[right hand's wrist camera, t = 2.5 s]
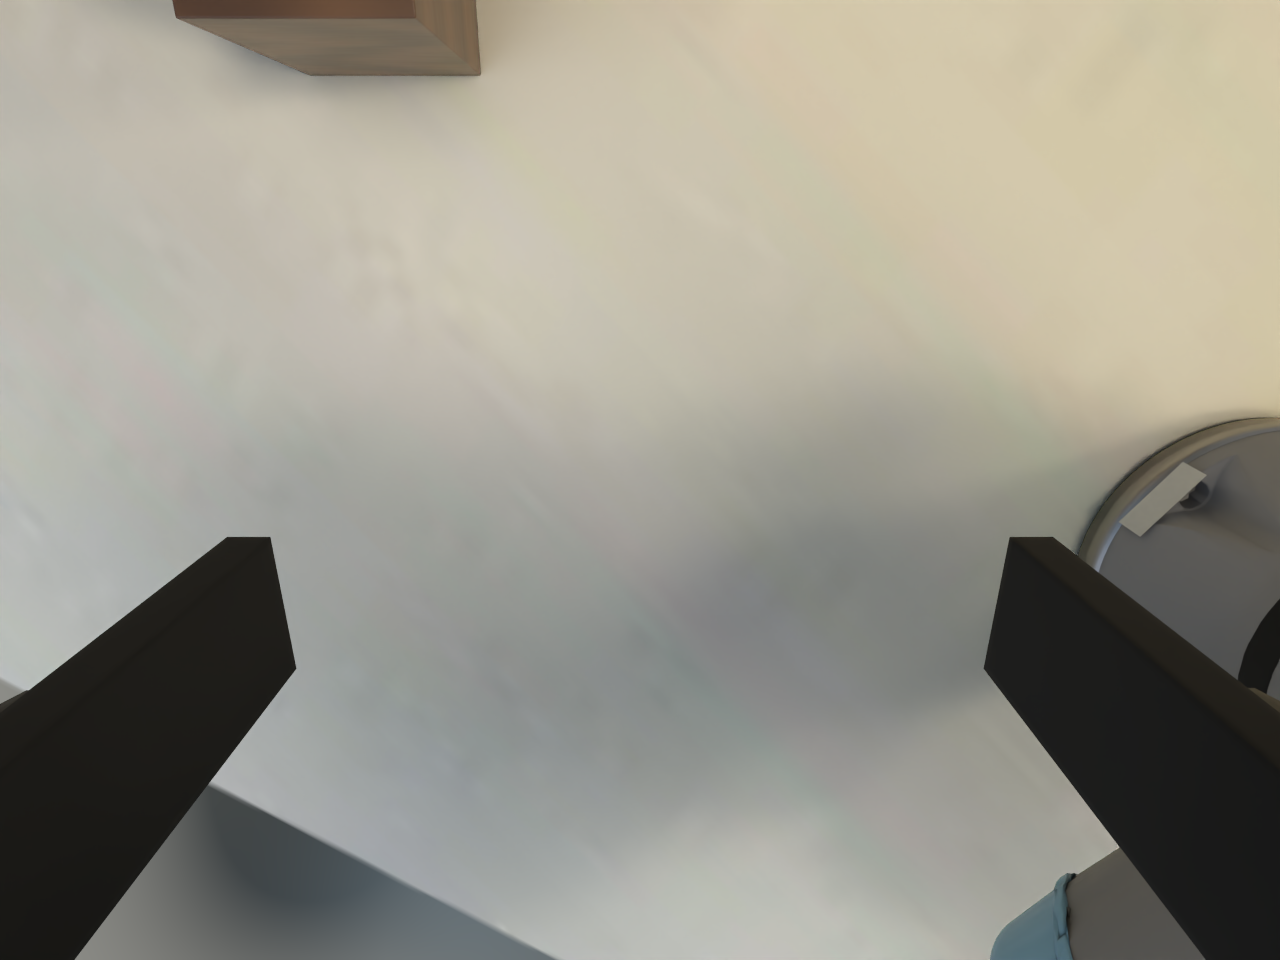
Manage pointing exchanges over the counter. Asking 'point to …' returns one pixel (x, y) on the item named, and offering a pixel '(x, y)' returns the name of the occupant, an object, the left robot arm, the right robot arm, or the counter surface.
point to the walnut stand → (348, 34)
